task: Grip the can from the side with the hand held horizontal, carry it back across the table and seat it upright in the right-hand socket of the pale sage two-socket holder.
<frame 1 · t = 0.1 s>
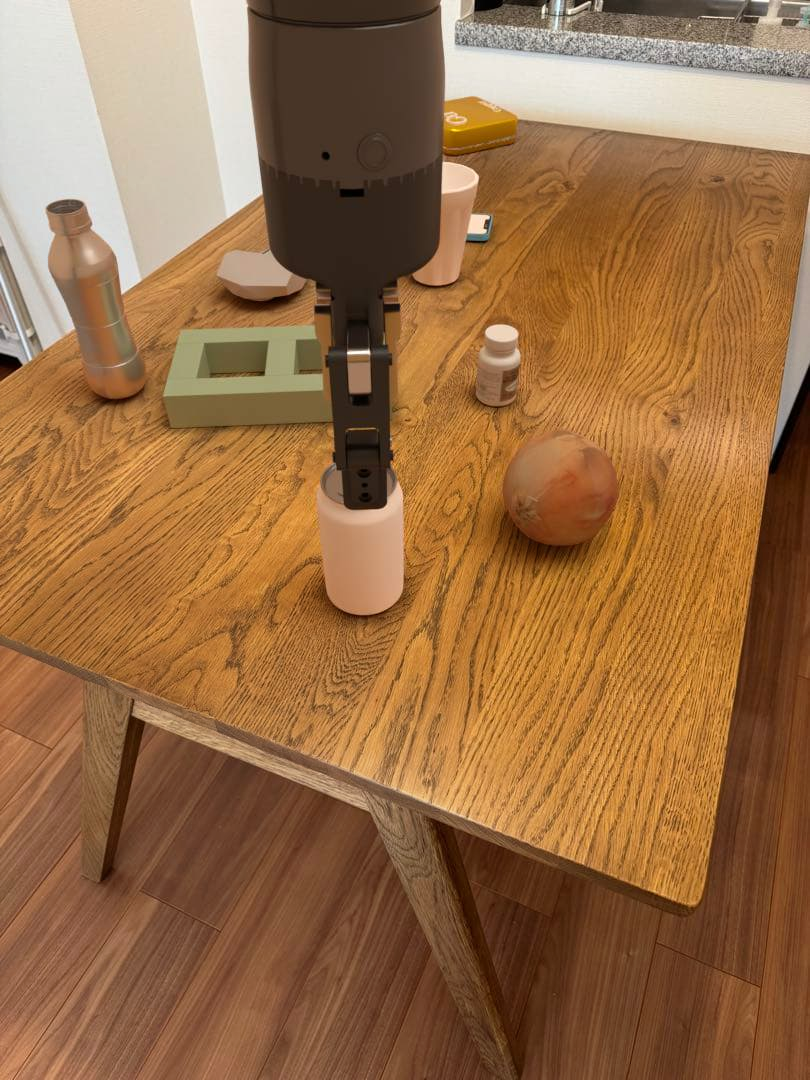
hand: (364, 452, 43), 22 cm above the table, tool pointing down, fingers open, 8 cm apart
element tile: (462, 139, 143), on the table
can: (365, 590, 65), on the table
pill bottle: (495, 397, 85), on the table
smartphone: (439, 230, 115), on the table
holder: (284, 388, 86), on the table
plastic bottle: (121, 391, 86), on the table
cup: (435, 278, 105), on the table
turret: (278, 280, 104), on the table
onion: (551, 531, 70), on the table
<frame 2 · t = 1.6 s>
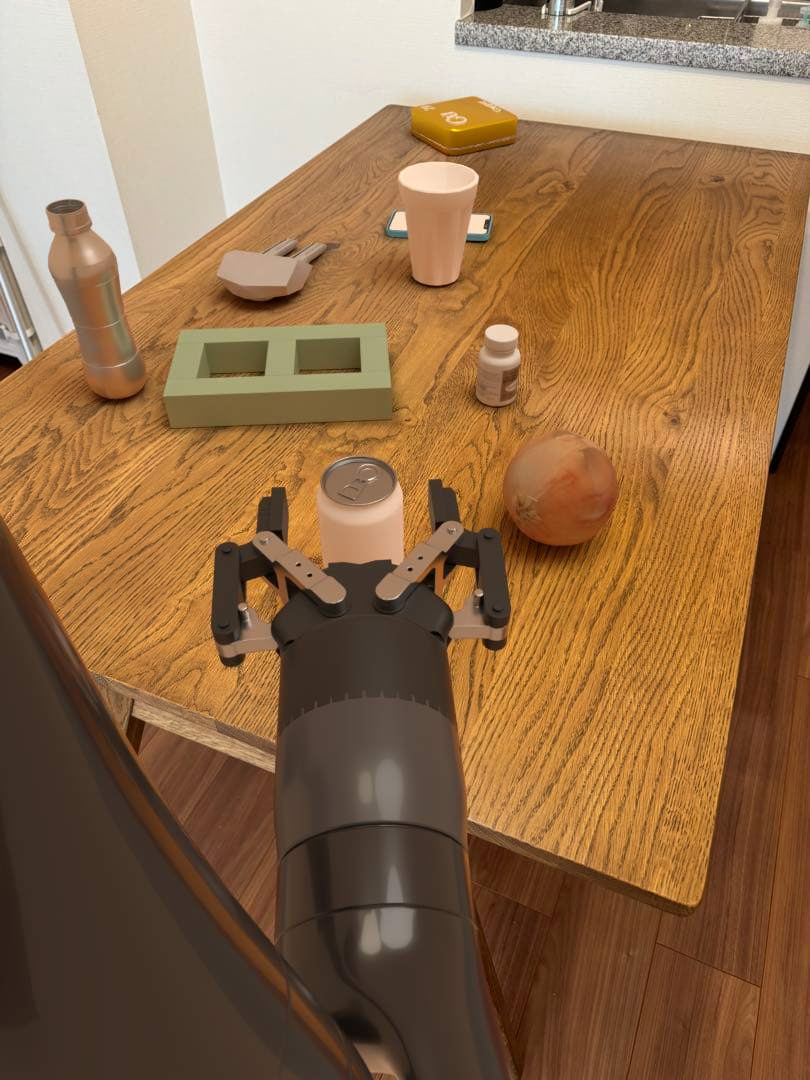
hand: (357, 494, 43), 20 cm above the table, tool horizontal, fingers open, 8 cm apart
nothing on the table moved.
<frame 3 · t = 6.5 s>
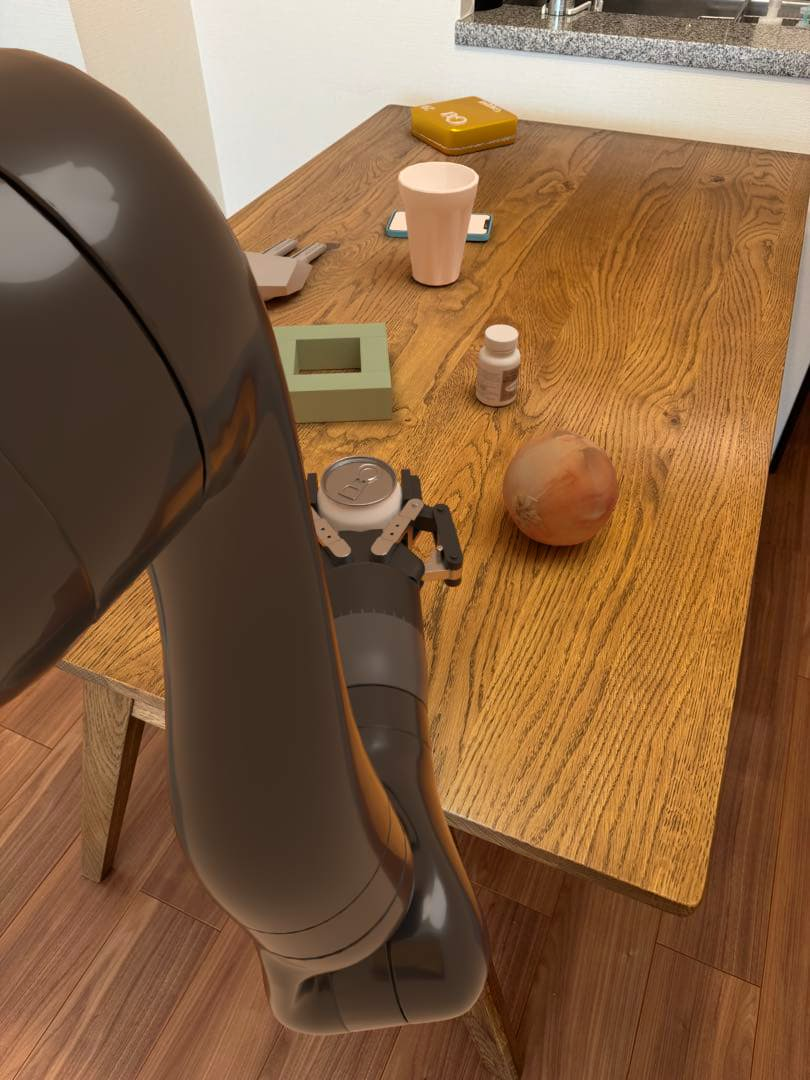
hand: (359, 479, 60), 10 cm above the table, tool horizontal, fingers closed on can, 6 cm apart
can: (365, 590, 65), on the table, touching gripper
everything else where it was.
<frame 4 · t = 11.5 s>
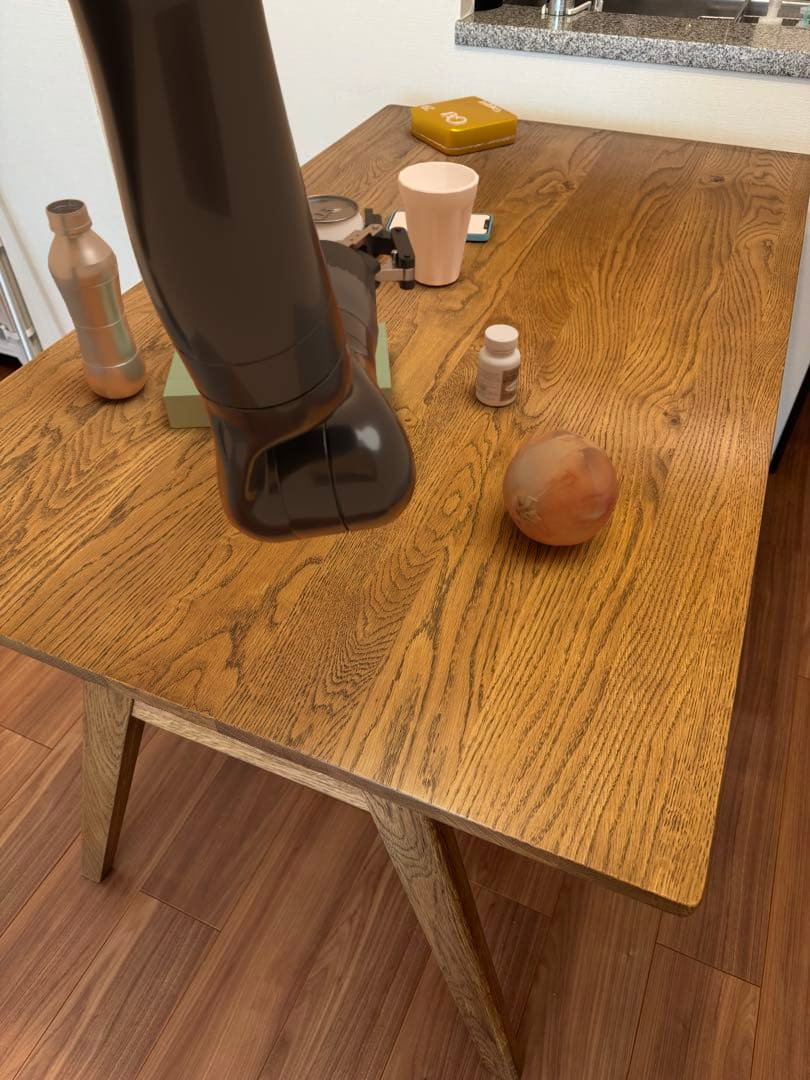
hand: (326, 220, 65), 22 cm above the table, tool horizontal, fingers closed on can, 6 cm apart
can: (334, 343, 71), point 11 cm above the table, touching gripper
everything else where it was.
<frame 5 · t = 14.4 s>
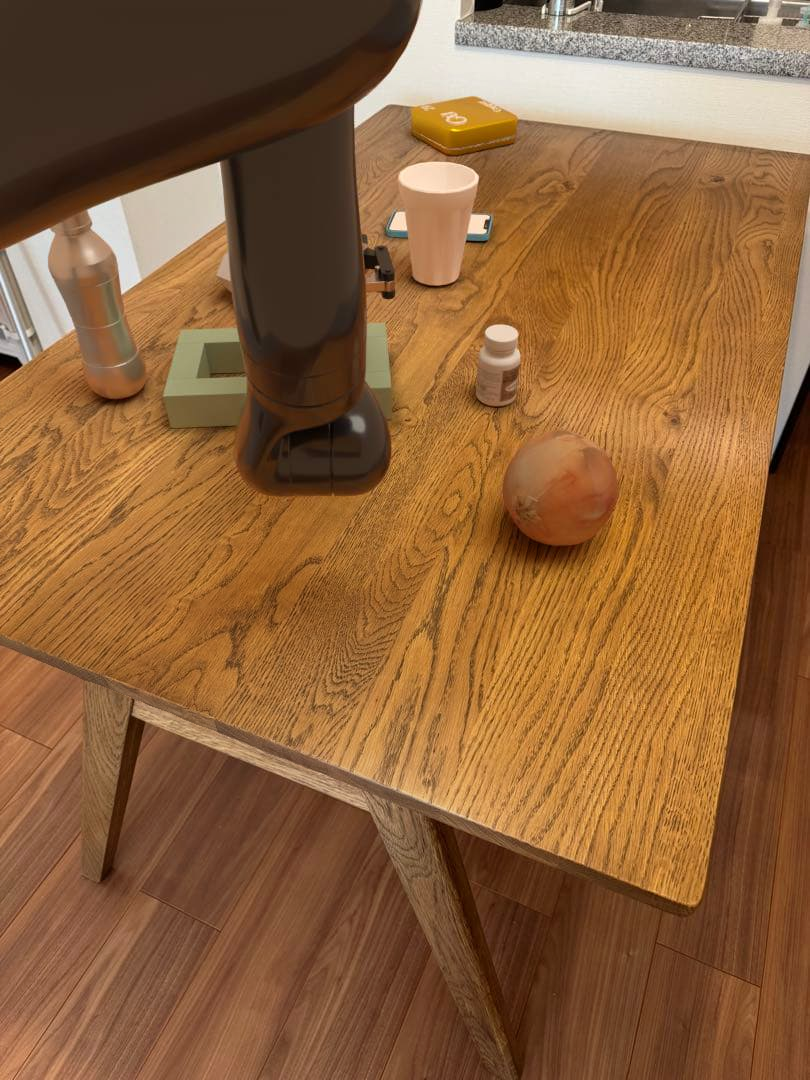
hand: (320, 240, 77), 16 cm above the table, tool horizontal, fingers closed on can, 6 cm apart
can: (328, 344, 82), point 5 cm above the table, touching gripper
everything else where it was.
when the fingers open (10 cm above the table, at t = 16.5 s): can stays where it is, resting in holder.
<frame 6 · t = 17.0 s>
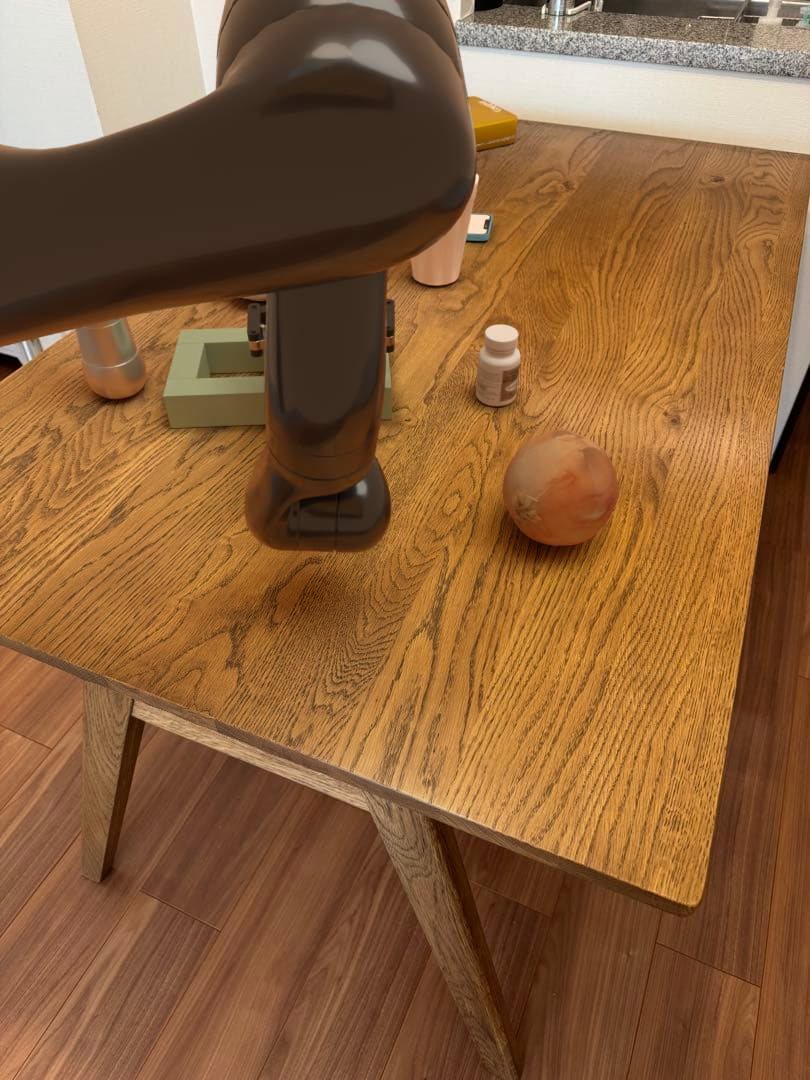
hand: (323, 290, 80), 10 cm above the table, tool horizontal, fingers open, 8 cm apart
can: (331, 388, 86), resting in holder
everything else where it was.
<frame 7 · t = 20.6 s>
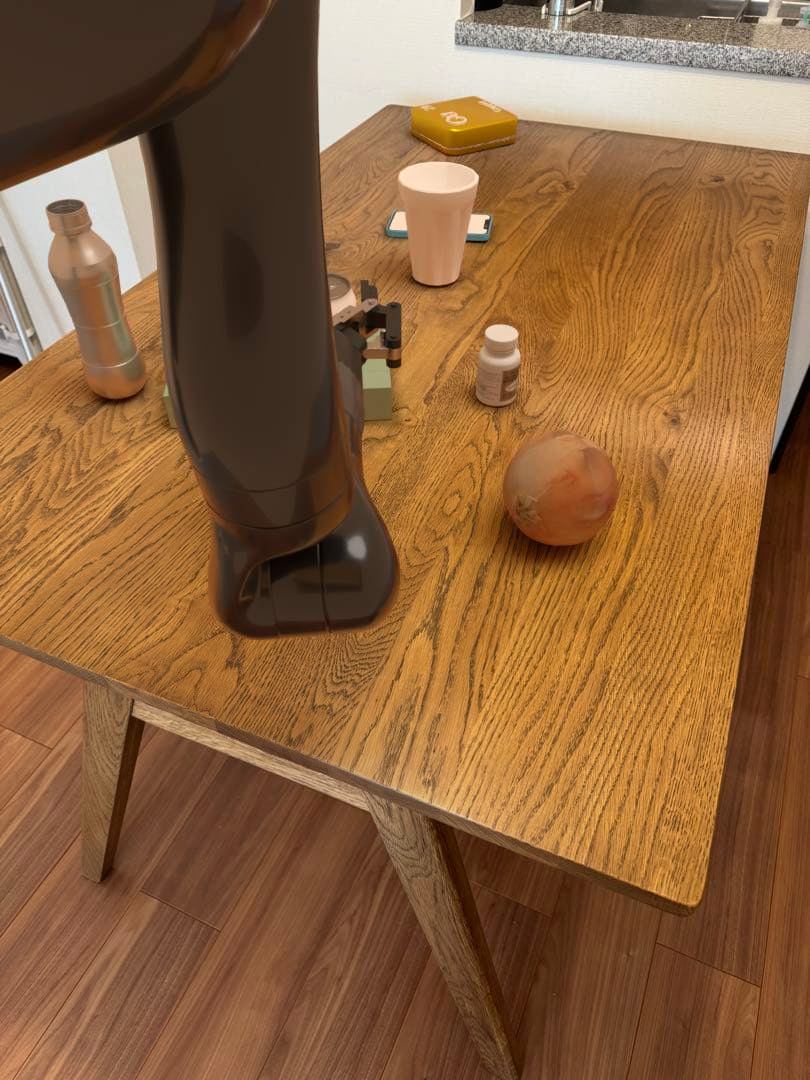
hand: (314, 290, 66), 17 cm above the table, tool horizontal, fingers open, 8 cm apart
nothing on the table moved.
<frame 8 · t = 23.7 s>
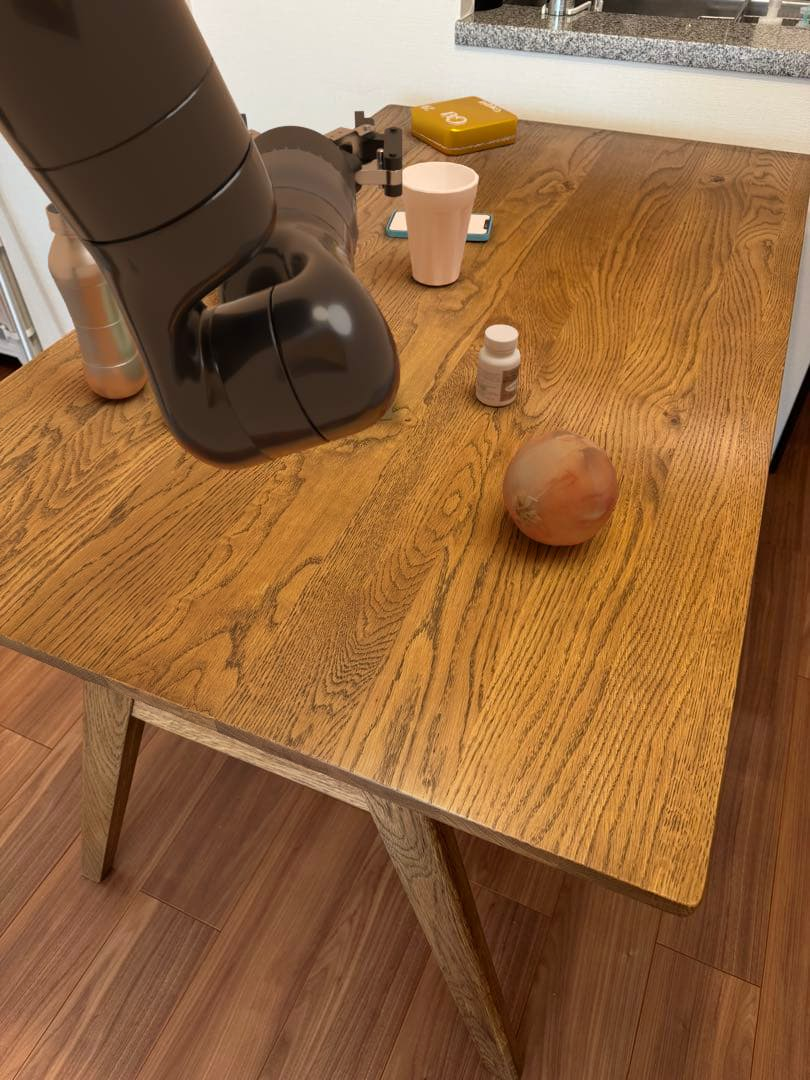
hand: (301, 126, 57), 30 cm above the table, tool horizontal, fingers open, 8 cm apart
nothing on the table moved.
at the end: can 0.1 cm from the target spot in the holder, point 0.0 cm above the holder's base; can tilted 0°; the gripper is holding nothing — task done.
